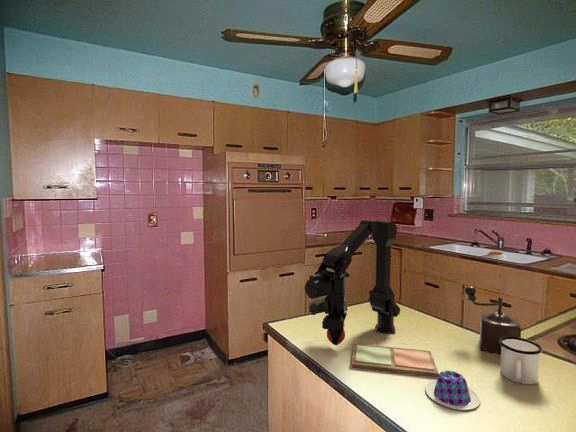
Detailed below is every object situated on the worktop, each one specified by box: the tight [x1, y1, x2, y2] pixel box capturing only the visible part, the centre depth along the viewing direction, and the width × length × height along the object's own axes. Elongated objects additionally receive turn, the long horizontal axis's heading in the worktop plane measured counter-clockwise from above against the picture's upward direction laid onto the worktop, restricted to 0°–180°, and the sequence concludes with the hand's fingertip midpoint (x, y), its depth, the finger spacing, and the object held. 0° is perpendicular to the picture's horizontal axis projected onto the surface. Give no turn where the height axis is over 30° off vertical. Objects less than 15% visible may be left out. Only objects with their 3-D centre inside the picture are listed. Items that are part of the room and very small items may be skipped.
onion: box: [326, 328, 346, 346], centre depth 105 cm, size 6×6×8 cm
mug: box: [499, 336, 543, 385], centre depth 87 cm, size 12×10×9 cm
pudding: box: [425, 370, 481, 411], centre depth 81 cm, size 12×12×5 cm
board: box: [351, 343, 440, 379], centre depth 97 cm, size 13×23×2 cm, turn 76°
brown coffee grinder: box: [463, 285, 522, 356], centre depth 106 cm, size 16×11×18 cm
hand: (336, 340), depth 105 cm, fingers closed on onion, 6 cm apart
